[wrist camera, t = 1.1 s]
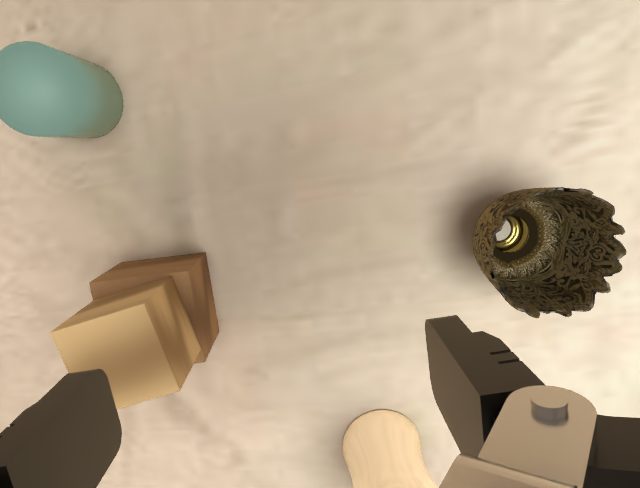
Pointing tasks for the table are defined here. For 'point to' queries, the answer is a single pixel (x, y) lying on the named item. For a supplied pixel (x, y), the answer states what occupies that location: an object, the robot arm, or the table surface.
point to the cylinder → (56, 93)
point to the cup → (549, 249)
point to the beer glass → (385, 452)
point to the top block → (132, 341)
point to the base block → (189, 282)
